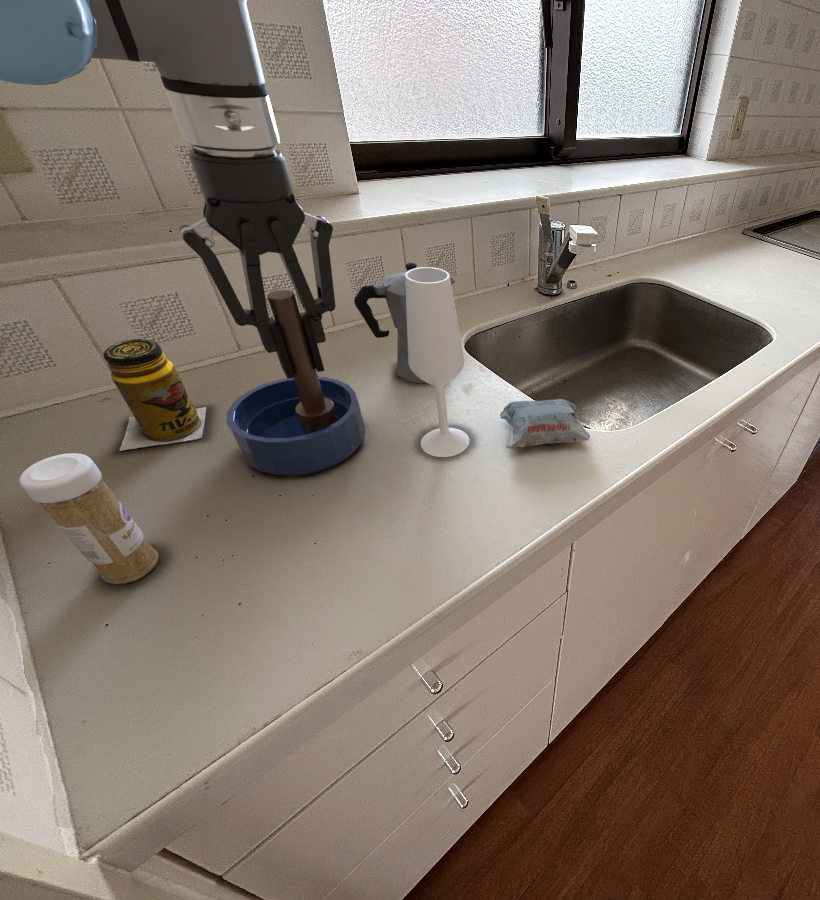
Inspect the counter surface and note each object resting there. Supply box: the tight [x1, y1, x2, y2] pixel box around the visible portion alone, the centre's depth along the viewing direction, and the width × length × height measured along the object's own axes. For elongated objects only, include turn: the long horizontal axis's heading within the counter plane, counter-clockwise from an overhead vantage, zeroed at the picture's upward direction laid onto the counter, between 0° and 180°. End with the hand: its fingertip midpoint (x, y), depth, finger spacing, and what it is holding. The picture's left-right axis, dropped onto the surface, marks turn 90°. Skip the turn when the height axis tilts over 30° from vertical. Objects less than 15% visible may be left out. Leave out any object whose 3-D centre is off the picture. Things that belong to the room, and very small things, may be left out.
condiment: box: [103, 338, 207, 452], centre depth 62 cm, size 7×8×12 cm
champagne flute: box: [405, 266, 470, 458], centre depth 63 cm, size 7×7×24 cm
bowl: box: [225, 375, 366, 477], centre depth 65 cm, size 15×15×6 cm
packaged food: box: [499, 398, 591, 449], centre depth 72 cm, size 9×12×5 cm
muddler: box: [266, 289, 338, 434], centre depth 60 cm, size 4×4×18 cm
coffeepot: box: [353, 262, 456, 384], centre depth 78 cm, size 15×9×18 cm, turn 129°
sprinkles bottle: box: [18, 452, 160, 585], centre depth 46 cm, size 5×5×13 cm
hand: (303, 369), depth 60 cm, fingers closed on muddler, 3 cm apart
